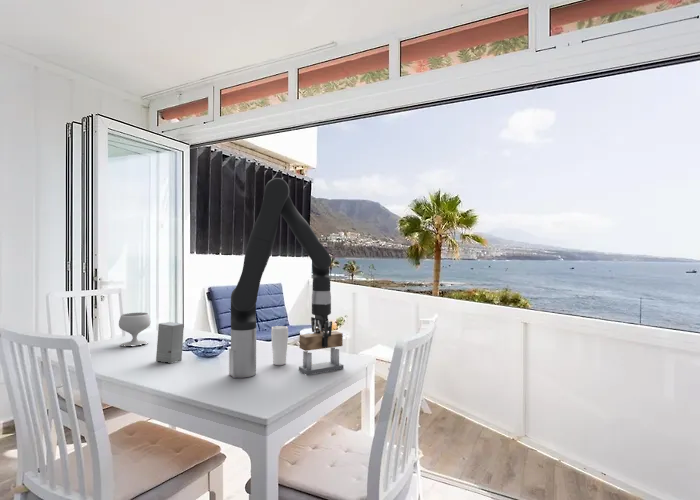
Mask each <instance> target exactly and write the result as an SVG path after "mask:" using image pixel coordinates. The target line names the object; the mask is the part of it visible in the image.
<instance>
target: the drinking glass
mask: <svg viewBox="0 0 700 500" xmlns="http://www.w3.org/2000/svg"><path fill="white" fill-rule="evenodd" d="M270 337H271V348H272V349H271V350H272V362H273V363H272V364H273V365H275V366H283V365H286V364H287V355H288V353H287V351H288V342H289V327H288V326H286V325H276V326H271V335H270Z"/></svg>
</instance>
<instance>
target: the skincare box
mask: <svg viewBox="0 0 700 500" xmlns="http://www.w3.org/2000/svg"><path fill="white" fill-rule="evenodd" d="M157 327H158V329H157V340H156V341H157V343H156V353H155V354H156V356H155V361H156V362H157V361H161V362H160V363H165V362H168V363H167V364H173V363H176V362H175V361H177V362H179V361H178V360H180V361H182V360H183V356H182V355H183V343H184V329H185V328H184V327H185V324H184V323H179V322H173V321H168V322H160V323H158V326H157ZM172 362H173V363H172Z"/></svg>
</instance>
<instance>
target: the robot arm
mask: <svg viewBox="0 0 700 500" xmlns="http://www.w3.org/2000/svg"><path fill="white" fill-rule="evenodd" d="M264 187H265V188H264V192H263V193H264V194H263V199H262V203H261V206H260V211H259V214H258V216H257V218H256V220H255V223H254V225H253V228H252V230H251V232H250V236H249V239H248V242H247V244H246V245H247V246H246V249H245V252H244V257H243V259H244V260H243V266H242V270H241V274H240V277H239V280H238V281H237V284H236V286H235V288H234V289H233V291H232V292H231V295H230V348H229V349H228V350H229V351H228V352H229V353H228V374H229V375H230V376H231V378H233V379H235V378H236V379H237V378H239V379H242V378H249V377H253V376H255V375H256V374H257V310H256V309H257V308H256V307H257V301H258V295H259V290H260V284H261V282H262V281H261V280H262V278H263V275H264V274H263V273H264V272H265V270H266V268H267V264H268V262H269V260H270V256H271V253H272V251H273V249H274V248H273V247H274V244H275V241H276V236H277V231H278V225H279V219H280V216H282V218H283V219H284V221H285V222H286V224H287V225H288V227H289V228H290V230H291V232H292V233H293V235H294V237H295V238H296V240H297V241H298V243H299V245H300V246H301V247H302V248H303V250H304V252H306V253H307V255H308V256H309V258H310V260H311V268H312V293H311V315H314V316H312V317H310V321H311V332H312V333H321V334H322V347H323V348H324V347H327V346H328V337H329V336H331V332H332V330H333V329H332V327H333V321H331V320H329V316H330V315H331V314H332V295H331V278H330V266H331V264H332V257H331V255H330V254H329V252H328V250H327V249H326V248H325V246H324V245H323V244H322V243H321V242H320V240H319V237H318V236H317V234H316V233H315V231H314V230H313V228H312V227H311V226H310V224H309V222H308V221H307V220H306V219H305V218H304V217H303V215H301V213H300V212H299V211H298V209H297V208H296V206H295V204H294V203H293V200H292V199H291V197H290V187H289V184H288V183H287V181H286V180H284V179H283V178H282V177H274V178H272V179H270V180H269V181H268V182H267V183H266V185H265V186H264ZM328 332H329V333H328ZM324 349H325V348H324Z"/></svg>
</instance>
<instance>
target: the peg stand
mask: <svg viewBox="0 0 700 500" xmlns="http://www.w3.org/2000/svg"><path fill="white" fill-rule="evenodd" d="M312 362H313V361H312V352H309V350H308V351H305V350H303V351H302V365H300V366H298V371H300V372H301V373H303V374H304V375H306V376H308V375H314V374H320V373H327V372H333V371H339V370H344V366H345V365H344V364H342V363H341V362H340V349H339V348H336V347H331V348H330V361H328V362H327V361H326V362H320V363H314V364H313V363H312Z"/></svg>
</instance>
